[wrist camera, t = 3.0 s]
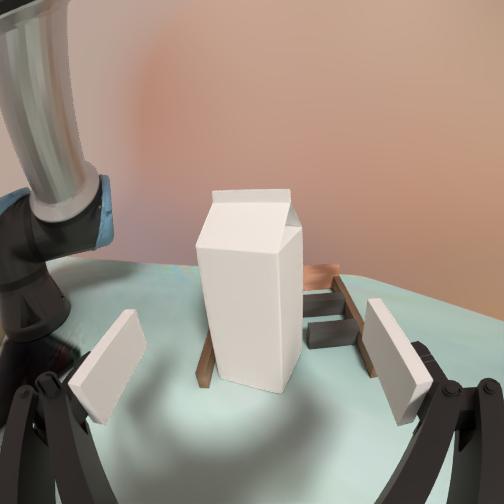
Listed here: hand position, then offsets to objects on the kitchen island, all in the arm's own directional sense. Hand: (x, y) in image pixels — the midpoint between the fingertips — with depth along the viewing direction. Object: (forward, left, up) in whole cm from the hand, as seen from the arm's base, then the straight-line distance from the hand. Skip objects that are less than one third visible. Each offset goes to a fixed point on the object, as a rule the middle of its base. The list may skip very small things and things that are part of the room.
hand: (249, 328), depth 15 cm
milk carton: (0, +11, -13) cm, 17 cm away
